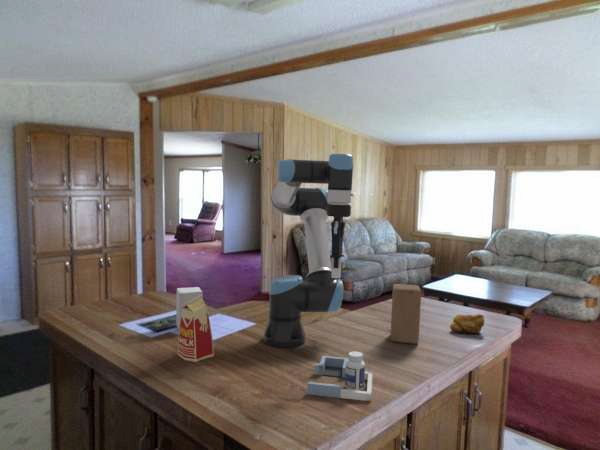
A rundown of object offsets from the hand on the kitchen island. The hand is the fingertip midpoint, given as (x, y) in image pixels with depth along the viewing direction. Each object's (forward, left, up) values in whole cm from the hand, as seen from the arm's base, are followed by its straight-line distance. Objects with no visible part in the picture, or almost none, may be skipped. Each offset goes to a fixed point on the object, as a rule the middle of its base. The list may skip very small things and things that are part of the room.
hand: (335, 277), depth 144 cm
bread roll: (+48, +44, -28) cm, 71 cm away
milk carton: (-44, -8, -28) cm, 53 cm away
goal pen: (+9, -19, -27) cm, 34 cm away
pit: (+1, -9, -27) cm, 29 cm away
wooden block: (+24, +27, -28) cm, 46 cm away
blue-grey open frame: (+1, -15, -27) cm, 31 cm away
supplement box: (-58, +19, -28) cm, 67 cm away
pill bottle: (+8, -18, -28) cm, 34 cm away
